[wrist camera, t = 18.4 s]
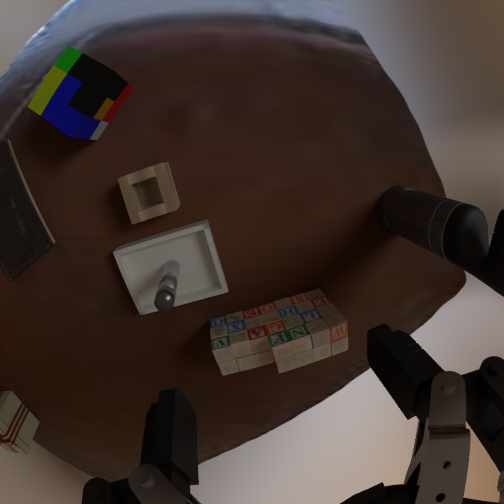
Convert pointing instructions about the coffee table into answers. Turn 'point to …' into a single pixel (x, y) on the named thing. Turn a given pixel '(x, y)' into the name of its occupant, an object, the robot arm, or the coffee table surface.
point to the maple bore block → (149, 192)
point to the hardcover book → (18, 218)
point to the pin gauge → (167, 287)
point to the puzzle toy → (80, 95)
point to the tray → (181, 250)
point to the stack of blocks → (279, 334)
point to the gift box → (16, 424)
